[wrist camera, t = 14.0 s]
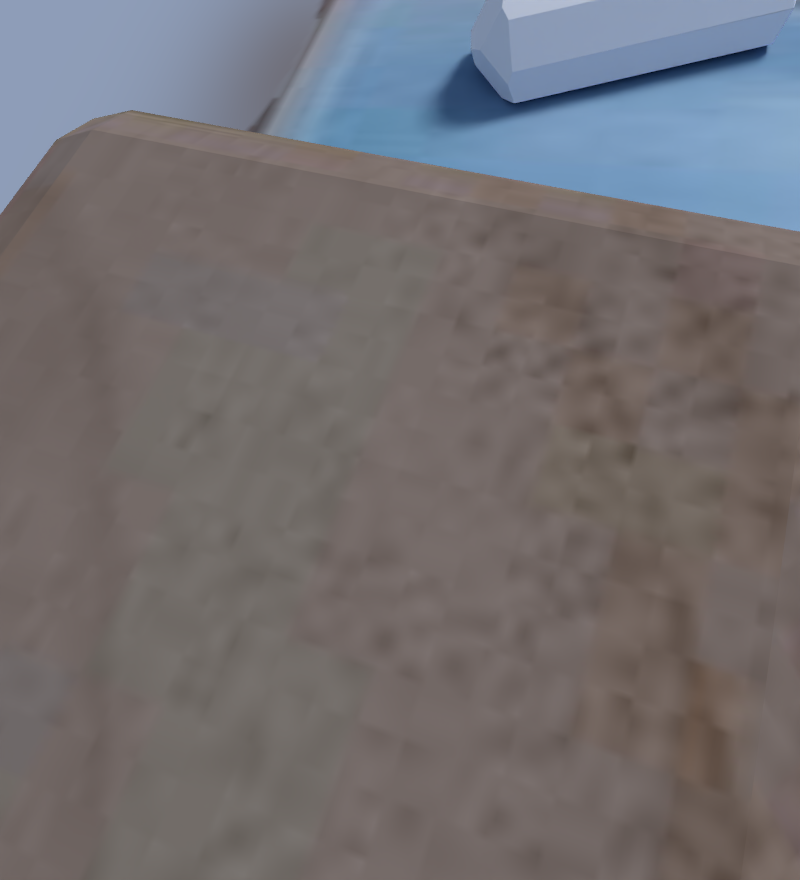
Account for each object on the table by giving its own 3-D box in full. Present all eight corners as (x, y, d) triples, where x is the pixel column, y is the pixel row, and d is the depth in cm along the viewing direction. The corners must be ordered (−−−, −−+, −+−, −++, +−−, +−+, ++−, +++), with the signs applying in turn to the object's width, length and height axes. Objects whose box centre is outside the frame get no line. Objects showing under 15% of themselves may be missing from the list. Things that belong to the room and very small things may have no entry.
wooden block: (229, 814, 23) (-653, 974, 5) (338, 538, 27) (65, 62, 9) (522, 941, 21) (863, 2085, 3) (597, 621, 24) (943, 210, 6)
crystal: (494, 88, 46) (837, 9, 46) (470, -24, 45) (818, -101, 46) (475, 129, 53) (771, 61, 54) (454, 34, 52) (754, -34, 53)
